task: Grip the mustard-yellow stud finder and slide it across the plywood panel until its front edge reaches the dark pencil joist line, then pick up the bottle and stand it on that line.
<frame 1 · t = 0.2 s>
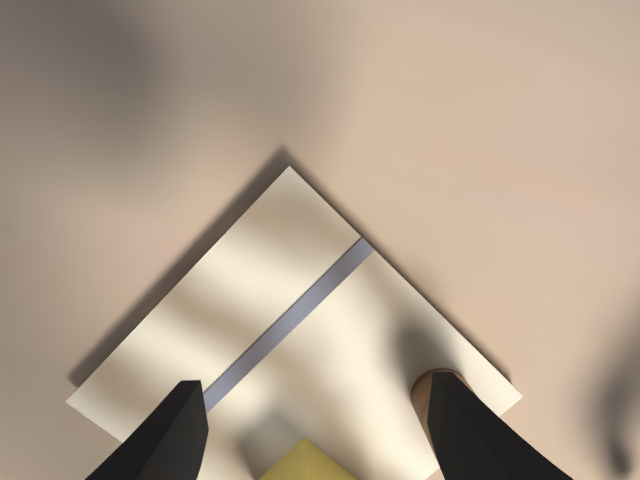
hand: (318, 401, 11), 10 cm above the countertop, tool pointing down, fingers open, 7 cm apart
plywood panel: (301, 386, 23), on the countertop
bottle: (439, 394, 22), point 1 cm above the countertop, touching plywood panel
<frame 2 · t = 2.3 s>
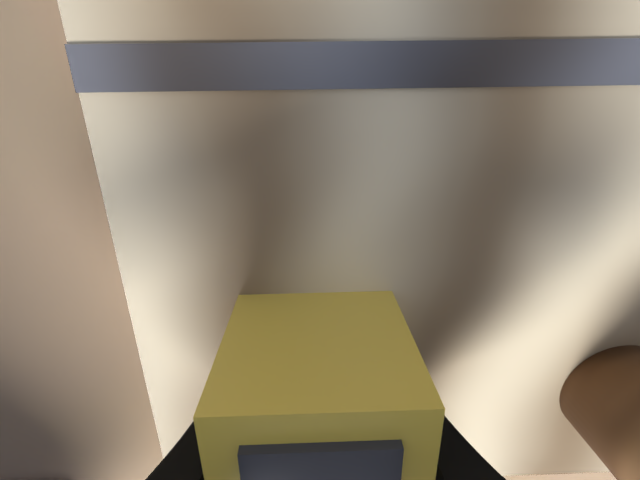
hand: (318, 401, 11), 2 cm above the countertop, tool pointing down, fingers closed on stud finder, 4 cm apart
plywood panel: (443, 212, 11), on the countertop
bottle: (612, 389, 12), point 1 cm above the countertop, touching plywood panel
stud finder: (317, 387, 12), point 1 cm above the countertop, touching gripper, plywood panel
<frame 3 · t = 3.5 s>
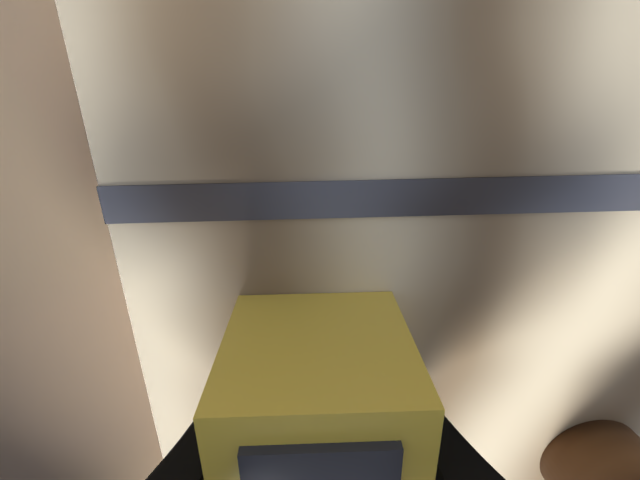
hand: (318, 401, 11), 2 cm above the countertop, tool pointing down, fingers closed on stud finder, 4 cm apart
plywood panel: (432, 303, 12), on the countertop
bottle: (588, 456, 13), point 1 cm above the countertop, touching plywood panel
stud finder: (317, 387, 12), point 1 cm above the countertop, touching gripper
when the fingers open (2 cm above the countertop, at t = 4.6 s): stud finder stays where it is, resting on plywood panel.
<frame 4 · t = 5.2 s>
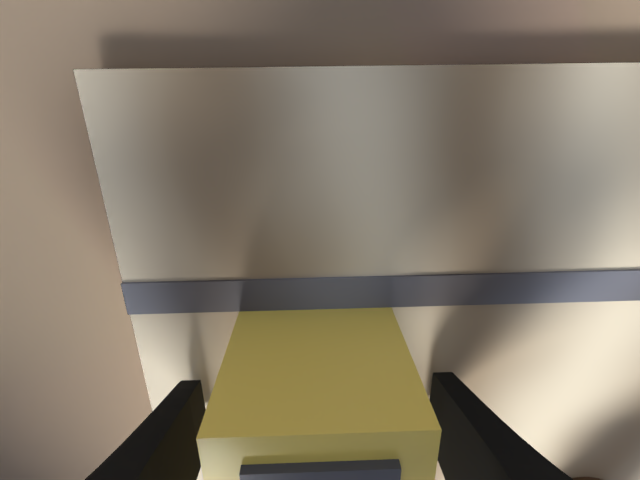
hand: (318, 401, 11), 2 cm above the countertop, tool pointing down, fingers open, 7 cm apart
plywood panel: (426, 370, 13), on the countertop
stud finder: (317, 399, 12), point 1 cm above the countertop, touching plywood panel
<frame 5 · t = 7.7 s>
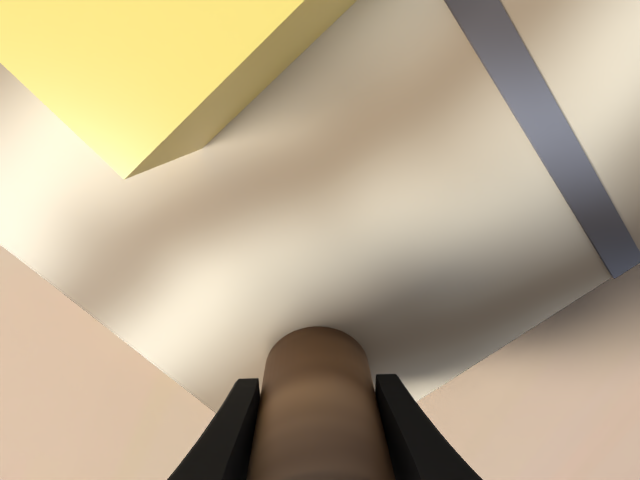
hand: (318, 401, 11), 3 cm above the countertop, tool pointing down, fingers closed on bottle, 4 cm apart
plywood panel: (339, 112, 11), on the countertop
bottle: (317, 370, 12), point 1 cm above the countertop, touching gripper, plywood panel
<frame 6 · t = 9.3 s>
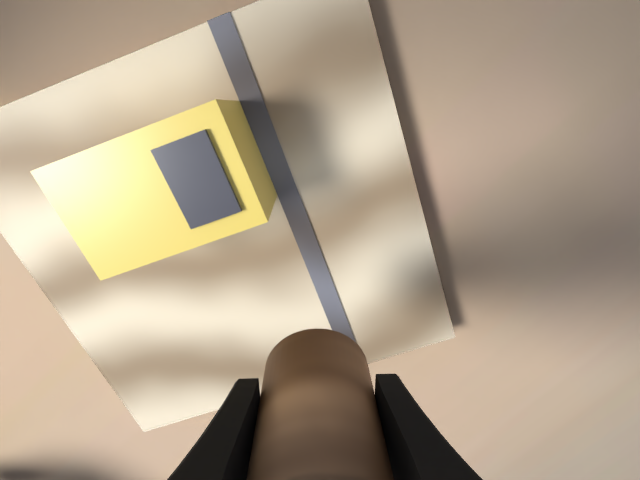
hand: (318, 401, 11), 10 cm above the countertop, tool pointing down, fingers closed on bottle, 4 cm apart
plywood panel: (231, 240, 19), on the countertop
bottle: (316, 372, 13), point 8 cm above the countertop, touching gripper
stud finder: (190, 175, 17), point 1 cm above the countertop, touching plywood panel
when the fingers open (4 cm above the countertop, at t = 10.8 s): bottle drops 1 cm, resting on plywood panel.
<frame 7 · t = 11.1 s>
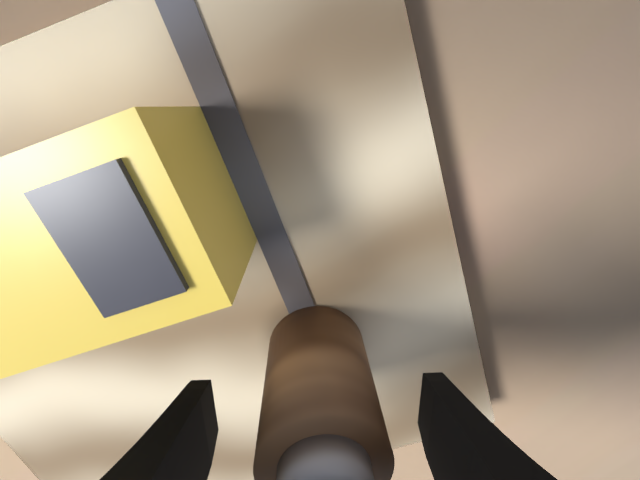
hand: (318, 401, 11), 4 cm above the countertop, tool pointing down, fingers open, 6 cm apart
plywood panel: (196, 294, 14), on the countertop
bottle: (316, 346, 14), point 1 cm above the countertop, touching plywood panel
stud finder: (133, 211, 12), point 1 cm above the countertop, touching plywood panel
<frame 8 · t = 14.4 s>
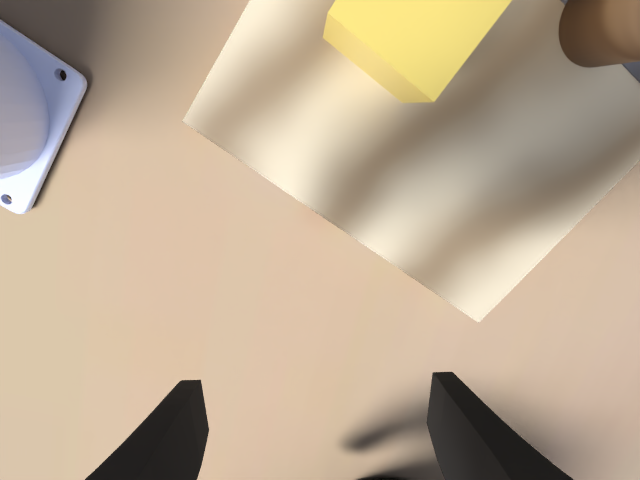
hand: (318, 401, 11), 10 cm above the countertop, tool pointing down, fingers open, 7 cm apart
plywood panel: (472, 62, 17), on the countertop
bottle: (600, 21, 15), point 1 cm above the countertop, touching plywood panel
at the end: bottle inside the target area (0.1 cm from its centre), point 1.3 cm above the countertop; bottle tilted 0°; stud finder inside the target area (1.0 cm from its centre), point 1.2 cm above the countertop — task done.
